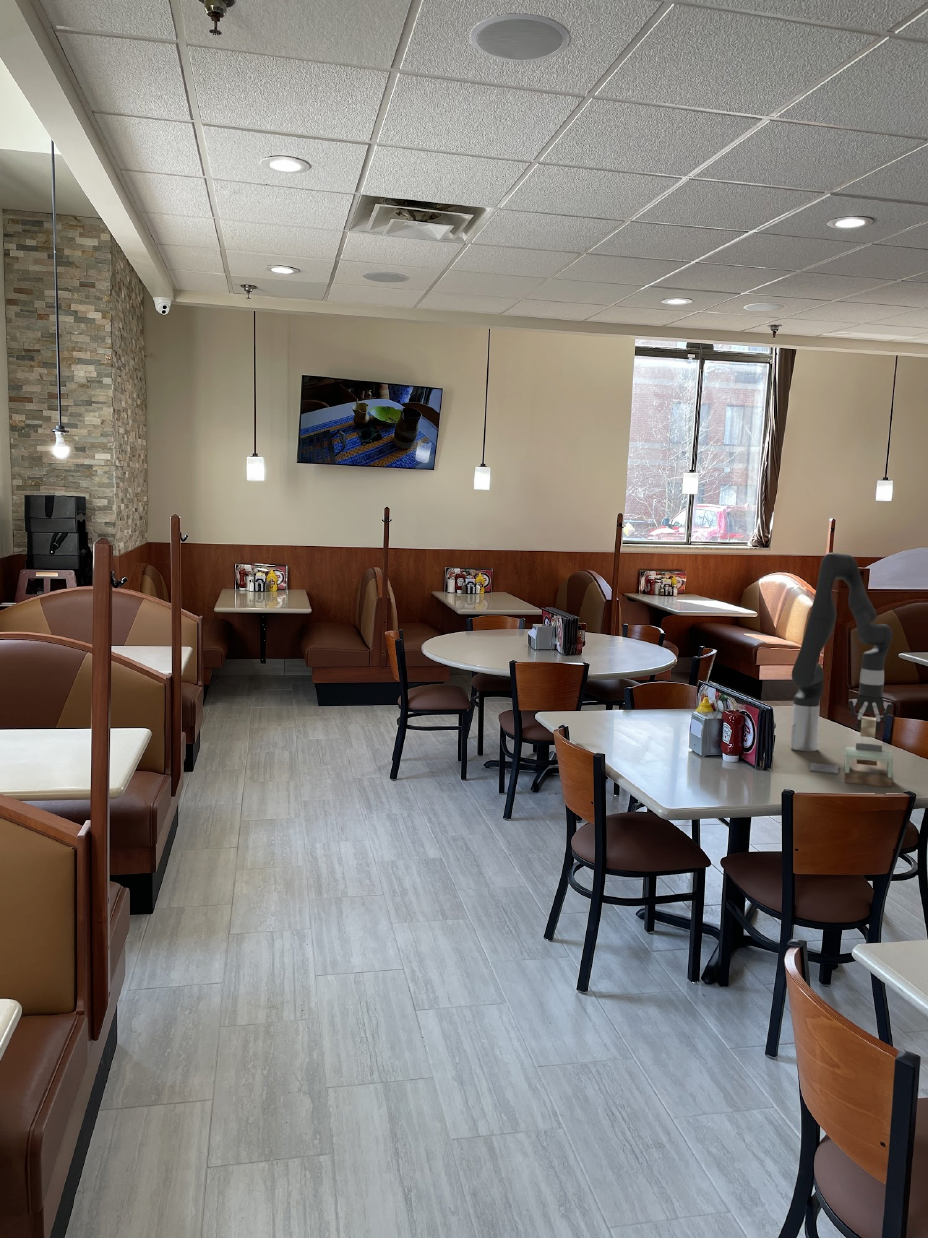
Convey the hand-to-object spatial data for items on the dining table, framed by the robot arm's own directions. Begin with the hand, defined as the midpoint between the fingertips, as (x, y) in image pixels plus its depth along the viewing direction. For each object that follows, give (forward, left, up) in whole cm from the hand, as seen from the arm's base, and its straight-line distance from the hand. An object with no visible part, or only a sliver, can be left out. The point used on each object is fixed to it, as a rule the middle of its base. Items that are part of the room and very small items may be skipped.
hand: (867, 730), depth 310 cm
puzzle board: (0, -4, -14) cm, 15 cm away
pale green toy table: (0, -12, -11) cm, 16 cm away
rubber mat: (-13, -4, -14) cm, 20 cm away
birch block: (0, 0, -2) cm, 2 cm away
